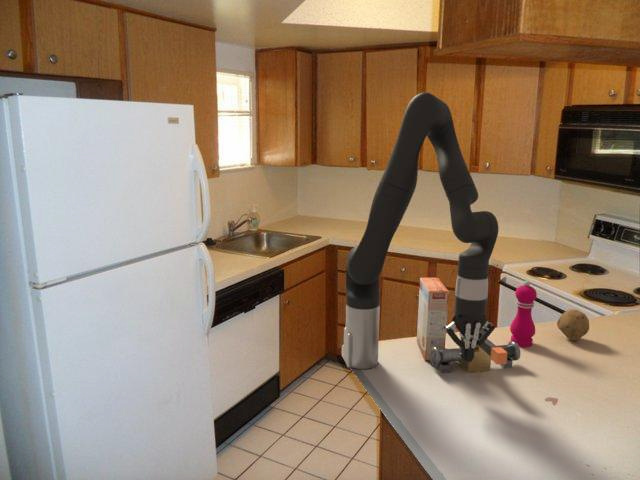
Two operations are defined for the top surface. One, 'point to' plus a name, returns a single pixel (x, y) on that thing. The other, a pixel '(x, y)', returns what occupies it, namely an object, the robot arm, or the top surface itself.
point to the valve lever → (494, 352)
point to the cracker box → (432, 315)
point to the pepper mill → (524, 316)
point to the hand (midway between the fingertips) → (467, 360)
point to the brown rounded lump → (573, 324)
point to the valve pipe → (478, 363)
